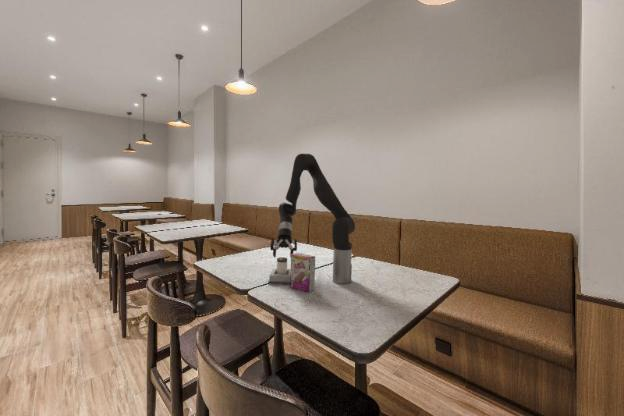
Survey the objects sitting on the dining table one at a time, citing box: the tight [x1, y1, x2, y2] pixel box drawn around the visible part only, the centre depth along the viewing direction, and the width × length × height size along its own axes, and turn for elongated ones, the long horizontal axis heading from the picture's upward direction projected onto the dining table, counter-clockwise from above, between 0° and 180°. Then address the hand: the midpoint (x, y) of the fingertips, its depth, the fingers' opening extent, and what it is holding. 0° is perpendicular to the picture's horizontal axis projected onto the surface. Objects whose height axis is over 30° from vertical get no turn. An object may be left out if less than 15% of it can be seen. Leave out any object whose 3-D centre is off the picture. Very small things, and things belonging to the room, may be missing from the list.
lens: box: [276, 256, 288, 275], centre depth 138 cm, size 5×5×10 cm
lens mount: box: [267, 268, 291, 286], centre depth 139 cm, size 12×12×4 cm
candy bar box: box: [289, 252, 316, 293], centre depth 127 cm, size 11×5×16 cm, turn 58°
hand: (282, 256), depth 142 cm, fingers open, 8 cm apart
